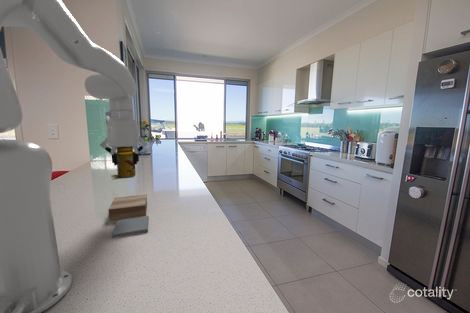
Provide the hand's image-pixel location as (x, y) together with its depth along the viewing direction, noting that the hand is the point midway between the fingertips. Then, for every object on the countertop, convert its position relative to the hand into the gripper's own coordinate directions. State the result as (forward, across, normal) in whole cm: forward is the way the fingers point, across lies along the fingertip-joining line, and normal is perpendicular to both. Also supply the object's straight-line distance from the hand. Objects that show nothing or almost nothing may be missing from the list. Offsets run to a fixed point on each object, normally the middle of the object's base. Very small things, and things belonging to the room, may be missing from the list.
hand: (126, 163), depth 79 cm
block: (+19, 0, 0) cm, 19 cm away
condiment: (+5, -1, 0) cm, 5 cm away
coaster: (+19, +2, -14) cm, 24 cm away
